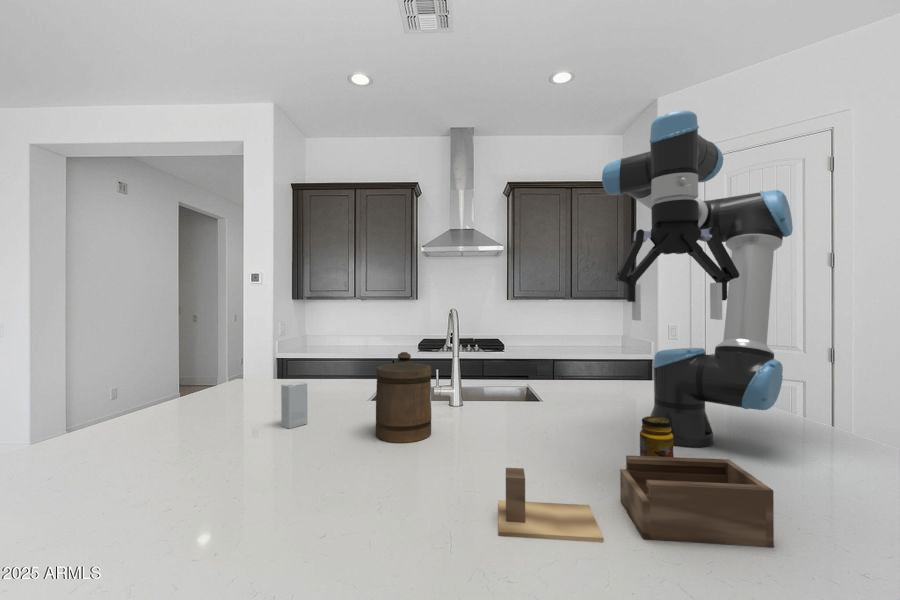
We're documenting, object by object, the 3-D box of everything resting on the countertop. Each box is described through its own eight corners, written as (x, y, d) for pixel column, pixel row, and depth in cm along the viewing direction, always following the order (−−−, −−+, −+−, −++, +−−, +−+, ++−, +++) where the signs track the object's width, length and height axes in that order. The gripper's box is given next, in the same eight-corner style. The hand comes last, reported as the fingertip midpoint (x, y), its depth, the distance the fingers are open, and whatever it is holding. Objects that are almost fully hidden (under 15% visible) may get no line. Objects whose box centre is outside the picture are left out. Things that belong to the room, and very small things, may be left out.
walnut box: (620, 501, 75) (620, 455, 75) (728, 506, 73) (728, 459, 73) (643, 539, 63) (642, 484, 63) (773, 547, 61) (773, 490, 61)
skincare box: (299, 421, 125) (299, 380, 125) (308, 424, 122) (308, 382, 122) (280, 426, 120) (280, 384, 120) (288, 429, 117) (288, 386, 117)
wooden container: (441, 431, 116) (441, 351, 116) (408, 447, 103) (408, 357, 103) (399, 423, 123) (399, 348, 124) (363, 436, 111) (363, 353, 111)
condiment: (679, 488, 80) (678, 425, 80) (630, 483, 83) (630, 421, 83) (671, 473, 87) (671, 415, 87) (626, 469, 89) (626, 412, 90)
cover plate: (498, 505, 74) (498, 460, 74) (588, 510, 72) (588, 464, 72) (498, 538, 64) (498, 485, 64) (603, 544, 62) (603, 490, 62)
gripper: (607, 201, 74) (609, 321, 74) (762, 193, 71) (763, 320, 71) (598, 209, 82) (599, 319, 82) (737, 203, 78) (739, 317, 78)
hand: (675, 319), depth 76 cm, fingers open, 13 cm apart
